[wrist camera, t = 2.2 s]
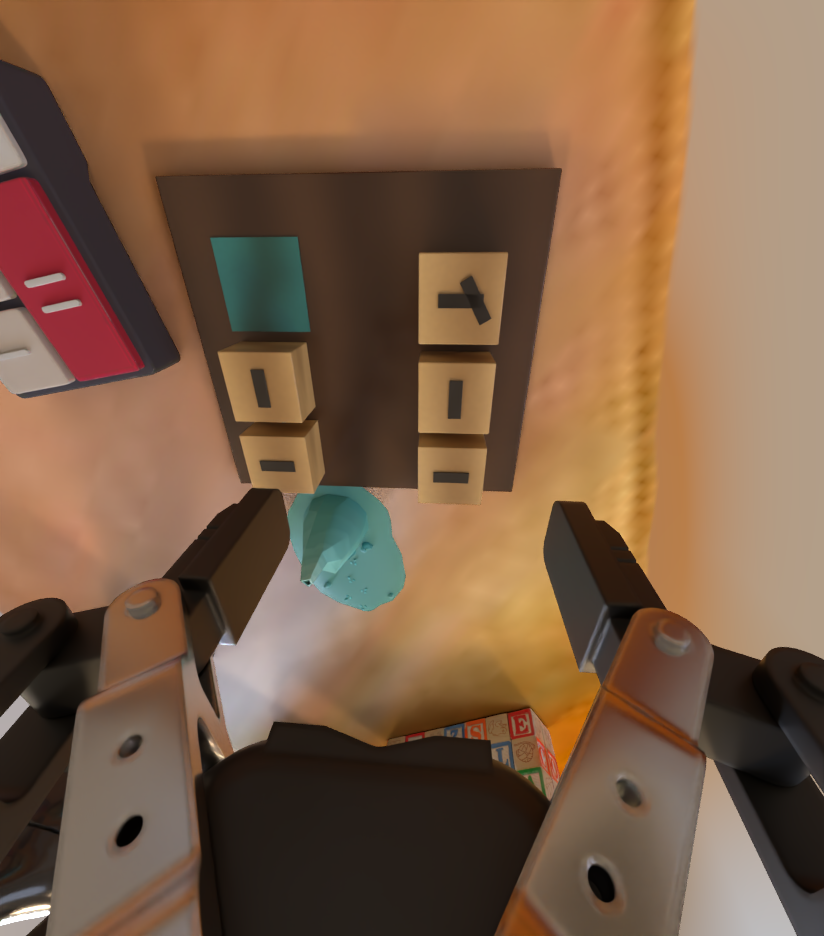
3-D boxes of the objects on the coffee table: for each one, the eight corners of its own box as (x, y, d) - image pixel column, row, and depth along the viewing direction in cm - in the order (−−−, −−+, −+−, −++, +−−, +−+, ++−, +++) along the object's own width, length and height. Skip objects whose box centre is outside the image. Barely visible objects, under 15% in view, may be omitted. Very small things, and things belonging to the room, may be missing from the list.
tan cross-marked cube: (420, 334, 23) (418, 344, 21) (421, 253, 21) (418, 252, 18) (492, 335, 23) (498, 345, 20) (500, 252, 21) (509, 252, 18)
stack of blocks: (530, 704, 45) (557, 843, 34) (549, 729, 48) (581, 865, 37) (386, 739, 52) (372, 864, 41) (410, 759, 54) (402, 882, 44)
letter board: (245, 477, 31) (221, 505, 27) (165, 179, 21) (110, 163, 18) (509, 485, 30) (519, 516, 26) (557, 171, 20) (583, 152, 16)
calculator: (8, 404, 25) (-239, 106, 17) (62, 382, 28) (-120, 128, 21) (149, 378, 23) (-51, 34, 15) (188, 358, 27) (42, 71, 19)
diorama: (320, 622, 41) (293, 704, 33) (251, 466, 31) (191, 532, 24) (428, 615, 39) (426, 699, 32) (390, 448, 29) (374, 513, 22)
